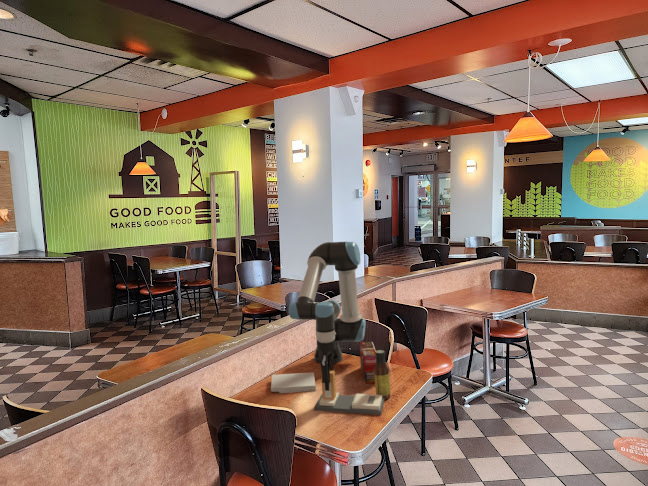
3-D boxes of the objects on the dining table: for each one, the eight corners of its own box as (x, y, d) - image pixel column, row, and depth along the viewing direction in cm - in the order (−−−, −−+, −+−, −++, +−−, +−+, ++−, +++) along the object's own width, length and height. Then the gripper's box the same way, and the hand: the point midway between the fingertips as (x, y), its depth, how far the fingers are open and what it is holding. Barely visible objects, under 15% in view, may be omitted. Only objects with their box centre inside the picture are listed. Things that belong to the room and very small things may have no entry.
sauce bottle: (393, 396, 184) (391, 351, 182) (384, 401, 179) (382, 355, 178) (381, 392, 188) (379, 348, 187) (372, 397, 184) (370, 352, 182)
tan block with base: (325, 394, 185) (323, 367, 184) (339, 395, 183) (337, 367, 182) (319, 405, 175) (317, 376, 174) (333, 406, 174) (332, 377, 173)
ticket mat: (321, 397, 186) (321, 390, 186) (384, 401, 180) (384, 393, 179) (314, 410, 175) (314, 403, 175) (380, 414, 168) (380, 407, 168)
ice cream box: (379, 383, 197) (377, 355, 196) (365, 384, 197) (363, 356, 196) (373, 367, 217) (372, 341, 216) (360, 368, 217) (359, 342, 216)
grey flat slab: (313, 379, 209) (272, 381, 207) (313, 372, 208) (272, 374, 207) (315, 392, 194) (271, 395, 192) (315, 385, 194) (270, 388, 192)
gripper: (330, 346, 168) (333, 404, 170) (339, 334, 184) (341, 387, 186) (312, 346, 170) (315, 403, 172) (322, 334, 186) (325, 386, 188)
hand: (329, 395), depth 179 cm, fingers closed on tan block with base, 3 cm apart
